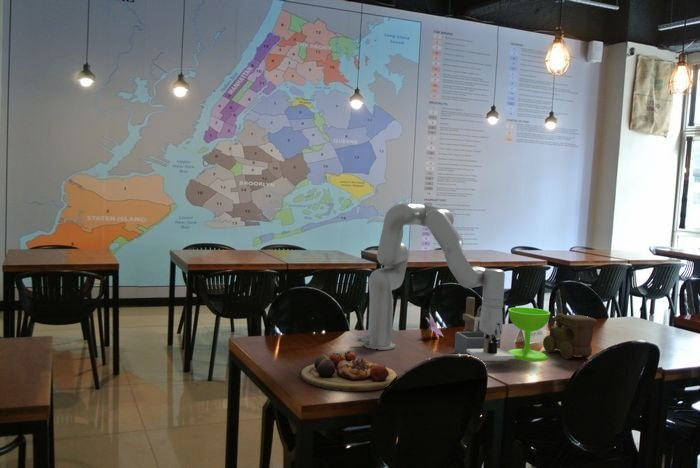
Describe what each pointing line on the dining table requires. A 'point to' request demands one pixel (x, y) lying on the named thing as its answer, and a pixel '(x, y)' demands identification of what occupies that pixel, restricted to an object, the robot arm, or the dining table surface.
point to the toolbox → (470, 340)
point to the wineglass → (528, 330)
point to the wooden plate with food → (347, 373)
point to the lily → (433, 327)
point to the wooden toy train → (571, 336)
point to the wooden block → (470, 310)
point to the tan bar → (470, 319)
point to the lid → (486, 356)
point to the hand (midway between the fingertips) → (490, 351)
